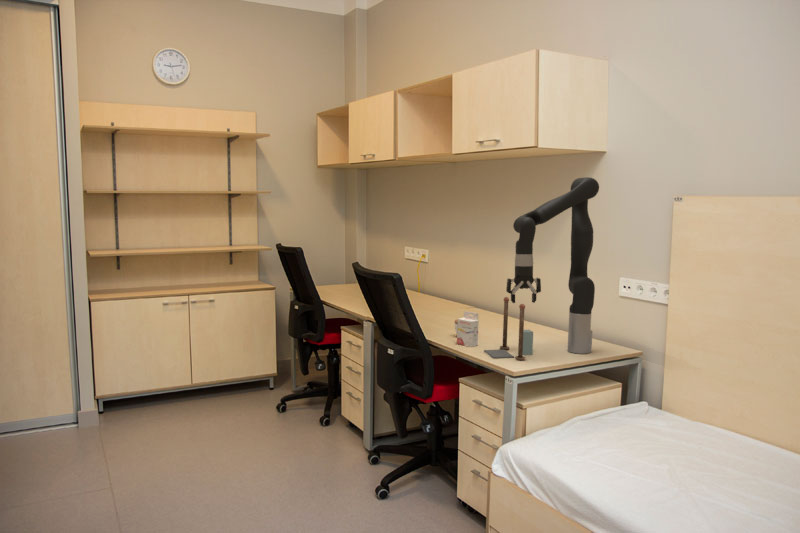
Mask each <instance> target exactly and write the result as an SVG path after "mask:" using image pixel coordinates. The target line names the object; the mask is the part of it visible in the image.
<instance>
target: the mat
mask: <svg viewBox="0 0 800 533" xmlns="http://www.w3.org/2000/svg"><path fill="white" fill-rule="evenodd" d="M483 352H484V353H485V354H487V355H488V356H489V357H491V358H492V359H515V356H514V355H513V354H511V353H510V352H508V350H504V349H503V350H501V349H483Z"/></svg>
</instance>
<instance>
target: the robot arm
mask: <svg viewBox="0 0 800 533" xmlns="http://www.w3.org/2000/svg"><path fill="white" fill-rule="evenodd" d="M599 190H600V184H599V182H598V181H597V179H595V178H593V177H579V178H576V179H574V180H573V181H572V183H571V185H570V191H568V192H566V193H564V194H562V195H560V196H557V197H555V198H554V199H551V200H548V201H546V202H544V203H543V204H541V205H540V206H538V207H537V208H535V209H533V210H531V211H527V213H524V214H522V215H520V216H519V217H517V218H516V219H515V220H514V222H513V226H512V228H513V230H514V231H515V232H516V233H518V234H519V236H518V240H516V242H515V256H514V278H510V277H509V278H507V280H506V293H508V294H510V301H511V303H512V304H515V303H516V294H515V293H517V291H519V289H520V290H523V289H525V290H528V289H529V290H530V291H531V292H532V293H531V303H532V304H533V303H534V304H535V303H536V301H537V294H538V293H542V285H541V284H542V283H541V278H540V277H536V278H534V254H533V252H534V251H533V250H534V249H533V243H534V240H535V235H536V227H537V226H538V225H543V224H545V223H547V222H548V221H551V220H552V219H553V218H555V217H556V216H558V215H560V214H561V213H564V212H565V211H566V210H568V209H571V231H570V269H569V270H570V271H569V276H568V277H569V278H568V284H567V285H568V290H569V292H570V293H571V294H572V302H571V304H570V305H569V310H568V311H569V312H568V313H569V314H568V332H567V352H569V353H572V354H579V355H581V354H582V355H584V354H585V355H586V354H590V353H592V348H593V347H592V345H593V331H592V330H591V326H592V310H593V308H594V303H595V291H596V290H595V289H596V286H595V283H594V281H593V280H592V278H590V277H588V276H589V275H588V264H589V260H590V256H591V253H592V251H593V245H594V228H593V224H592V221H591V218H590V215H589V208H588V206H589V205H588V204H589V200H591V199H593V198H595V197H596V196H597V194H598V193H599ZM513 282H514V284H515V285H514V286H513V287H512V285H513ZM533 283H534V284H536V285H535V288H534V286H533Z"/></svg>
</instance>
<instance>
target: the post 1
mask: <svg viewBox="0 0 800 533" xmlns="http://www.w3.org/2000/svg"><path fill="white" fill-rule="evenodd" d="M509 301H510V298H509V297H508V296H505V297H503V302H504V303H503V323H502V326H503V327H502V330H503V331H502V345H500V346H499V350H503V349H504V350H505V351H508V350H510V346H508V320H509V319H508V318H509Z"/></svg>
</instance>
